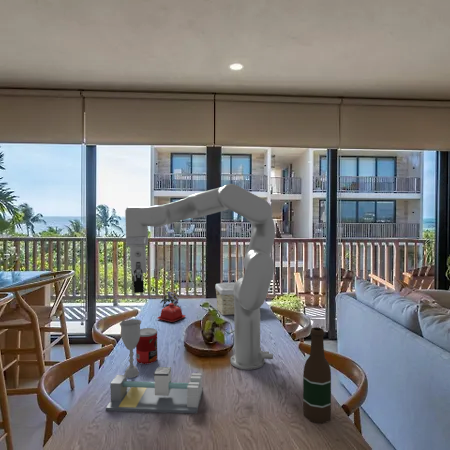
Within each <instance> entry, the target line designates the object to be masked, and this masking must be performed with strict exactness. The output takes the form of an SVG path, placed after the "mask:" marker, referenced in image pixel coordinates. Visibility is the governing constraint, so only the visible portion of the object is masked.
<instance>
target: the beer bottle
mask: <svg viewBox="0 0 450 450" xmlns="http://www.w3.org/2000/svg"><path fill="white" fill-rule="evenodd" d="M310 334H311V337H310V339H311V340H310V342H311V343H310V354H309V357H307V359H306V360H305V363H304V365H303V366H304V367H303V373H302V376H303V377H302V380H303V381H302V395H303V396H302V398H303V399H302V402H303V403H302V405H303V406H302V408H303V409H302V411H303V417H305V418H306V419H307V420H308V421H309V422H311V423H315V424H325V423H327V422H330V421H331V418H332V417H331V416H332V415H331V414H332V371H331V367H330V364H329V361H328V360H327V359H326V355H325V346H324V335H325V330H324V328H322V327H316V326H315V327H312V328H311V330H310Z"/></svg>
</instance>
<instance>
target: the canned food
mask: <svg viewBox="0 0 450 450" xmlns="http://www.w3.org/2000/svg"><path fill="white" fill-rule="evenodd" d="M135 354H136V355H135V358H136V362H137V363H138V364H140V365H141V364H142V365H149V364H154V363H155V362H156V361H157V360H158V329H156V328H152V327H147V328H146V327H144V328H143V327H142V328H140V338H139V341H138V343H137V345H136V348H135Z"/></svg>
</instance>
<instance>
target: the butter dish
mask: <svg viewBox="0 0 450 450" xmlns="http://www.w3.org/2000/svg"><path fill="white" fill-rule="evenodd" d="M173 305H174V304H173V303H171V302H169V304H168V306H165V307H163V308H162V309H161V311H160V315H159V316H158V317H157V319H158V320H161V321H165V322H171V323H174V322H177V321H179V320H182V319H183V318H185V317H186V315H184V314H183V311H182V309H181V307H180V306H178V305H177V306H173Z"/></svg>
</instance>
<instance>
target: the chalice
mask: <svg viewBox="0 0 450 450" xmlns="http://www.w3.org/2000/svg"><path fill="white" fill-rule="evenodd" d="M141 324H142V320H140V319H127V320H126V319H125V320H122V321H121V322H120V323H119V326H120V329H121V341H122V343H123V345H124V347H125V348H126V350H129V354H128V357H129V359H128V362H129V365H128V366H127V368H126V369H125V372H124V374H123V375H127V379H128V378H129V379H130V378H134V377H135V378H136V377H137V376H139V375H140V372H139V369H138V367H137V366H136V365H134V361H135V359H134V352H133V351H134V349H135V350H136V345H137V343H138V341H139V338H140V329H141Z"/></svg>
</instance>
